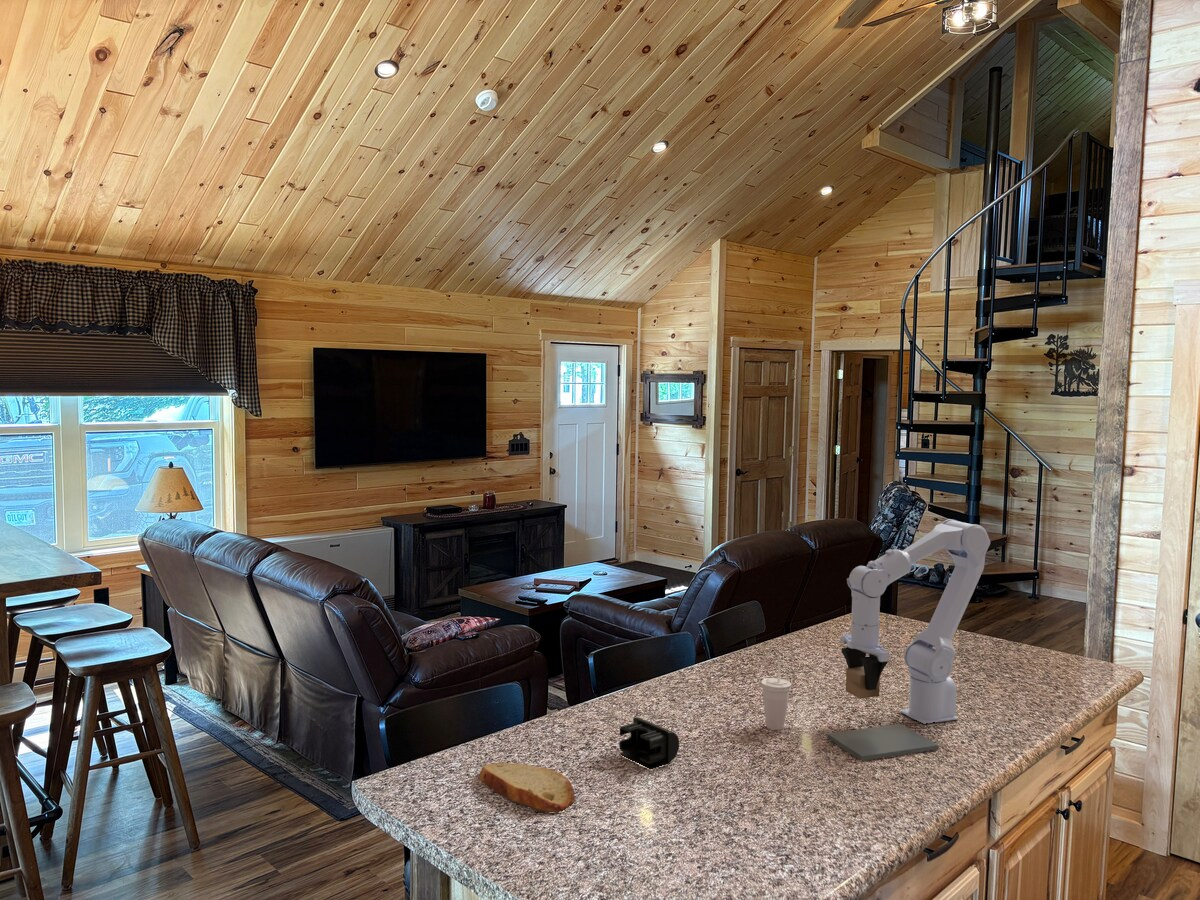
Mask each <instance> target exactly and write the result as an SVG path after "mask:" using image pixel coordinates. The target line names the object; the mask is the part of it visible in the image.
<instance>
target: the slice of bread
mask: <svg viewBox="0 0 1200 900" xmlns="http://www.w3.org/2000/svg"><path fill="white" fill-rule="evenodd" d="M478 779H479V780H480V782H482V784H484V786H486V785H487V786H486V787H488V788H489V789H490V788H491V789H490V790H492V789H493V792H494V793H495V792H496V793H497V794H499V795H500V796H501V795H502V796H501V797H503V798H505V799H507V800H509V801H510V800H511V802H513V803H514V804H516V805H519V804H521V805H520V806H523V807H524V806H525V808H526V807H530V808H529V809H532V810H534V809H535V810H534V811H537V812H539V811H542V812H541V813H545V812H559V811H563V810H565V809H566V808H568V807H569V806H571V805H572V804H573V803H574V802H575V803H576V801H575V800H576V795H575V790H574V788H573V784H572V783H571V781H570V780H569V779H568V778H567V777H565V776H564V775H563V774H562V773H560V772H558V771H555V770H553V769H550V768H547V767H539V766H535V765H529V764H523V763H515V762H514V763H513V762H512V763H510V762H496V763H489V764H484V765H483V766H482V768H481V770H480V773H479V774H478Z"/></svg>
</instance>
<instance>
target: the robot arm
mask: <svg viewBox="0 0 1200 900" xmlns="http://www.w3.org/2000/svg"><path fill="white" fill-rule="evenodd" d="M990 545H991V540H990V538H989V534H988V531H987V530H986V528H984V527H983V526H982V525H980V524H971V523H967V522H964V521H963V522H962V521H959V520H956V519H951V518H949V519H946V520H943V522H942V523H938V524H936V525H935V526H934V528H933V529H932V530H931V531H930V532H928V533H927V534H925V535H924V536H922V537H921V538H919V539H918V540H916V541H915V542H913V543H912V544H910V545H909V546H908V547H906V548H904V549H902V550H900V549H897V548H894V549H891V548H889V549H887V550H885V554H883V555H881V556H880V557H879V558H876V559H875V560H870V561H868V563H867V564H866V566H865V565H858V566H855V568H853V569H852V570H851V572H850V574H849V577H847V578H846V581H847V582H846V584H847V586H848V587H849V589H850V591H851V625H850V626H851V628H850V629H851V630H850V633H847V634H841V644H843V645H846V647H842V648H841V649H840V650H841V653H842V655H843V657H844V659H845V661H846V664H847V668H855V667H864V673H865V686H866V689H867V690H875V689H876V688H877V684H878V681H879V678H880V679H881V675H882V673H883V672H884V669H885V668H886V666H887V665H888V663H889V661H890V651H887V650H886V649H885V648H884V647H883V646H882V645H881V644H880V643H879V642H880V641H879V640H880V614H881V613H880V611H881V610H880V607H881V596H882V595H883V594H884V593H885V591H886V590H887V587H888V586H890V584H892V583H893V582H895V581H897V580H898V579H900V578H902V577H903V576H905V575H907V574H909V573H910V571H911V569H912V565H913V564H915V563H917V562H919V561H921V560H922V559H925V558H927V557H929V556H931V555H933V554H935V553H937V552H939V551H941V550H945V551H946V552H947V553H948V554H949V555H950V556H951V558H952V561H953V563H954V569H953V571H952V573H951V575H950V578H949V579H948V582H947V584H946V586H945V588H944V591H943V593H942V595H941V597H940V600H939V602H938V604H937V606H936V608H935V610H934V612H933V614H932V617H931V619H930V621H929V624H928V626H927V628H926V629H925V630H923V631H922V632H919V633H917V634H916V635H915V637H914V639H913V641H912V642H910V644H908V646H906V648H905V650H904V653H903V660H904V663H905V665H906V666H907V667H908V673H909V674H910V675H909V677H910V678H909V699H908V700H909V702H908V703H909V704H908V708H903V709H900V710H899V711H900V713H901V714H904V715H905V716H907V717H909V718H911V719H913V720H915V721H916V720H917V722H918V721H919V722H918V723H920V722H921V723H920V724H922V723H923V725H927V724H926V723H928V724H933V722H935V723H942V722H948V721H954V720H957V721H958V720H959V717H958V715H957V716H956V714H957V713H956V712H957V687H956V684H955V681H954V680H953V678H952V677H951V674H952V672H953V667H954V659H955V656H956V654H957V653H956V650H955V648H954V645H953V643H952V640H953V638H954V635H955V633H956V631H957V629H958V628H959V625H960V622H961V620H962V618H963V615H964V613H965V611H966V609H967V607H968V605H969V602H970V600H971V598H972V596H973V594H974V592H975V589H976V587H977V585H978V583H979V580H980V578H981V575H982V574H983V572H984V569H985V560H986V553H987V551H988V549H989V547H990ZM867 655H868V656H867Z"/></svg>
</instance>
